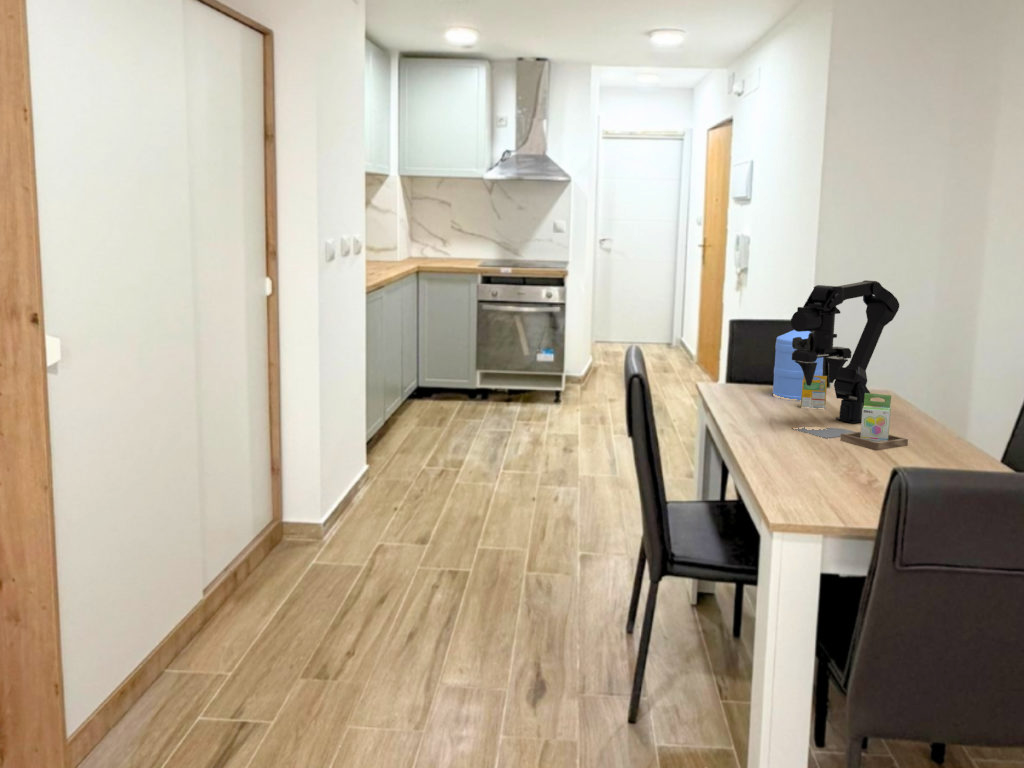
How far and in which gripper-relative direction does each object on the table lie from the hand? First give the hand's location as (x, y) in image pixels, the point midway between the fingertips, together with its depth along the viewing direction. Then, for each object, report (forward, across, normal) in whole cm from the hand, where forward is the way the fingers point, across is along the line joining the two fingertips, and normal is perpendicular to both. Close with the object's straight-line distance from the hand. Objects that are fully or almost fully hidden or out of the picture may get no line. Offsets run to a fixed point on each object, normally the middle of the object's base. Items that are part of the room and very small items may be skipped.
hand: (819, 384), depth 273 cm
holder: (+13, +2, +21) cm, 25 cm away
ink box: (+13, +3, +22) cm, 25 cm away
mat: (+13, +3, +5) cm, 14 cm away
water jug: (+13, -29, -34) cm, 47 cm away
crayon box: (+13, -19, -19) cm, 30 cm away
